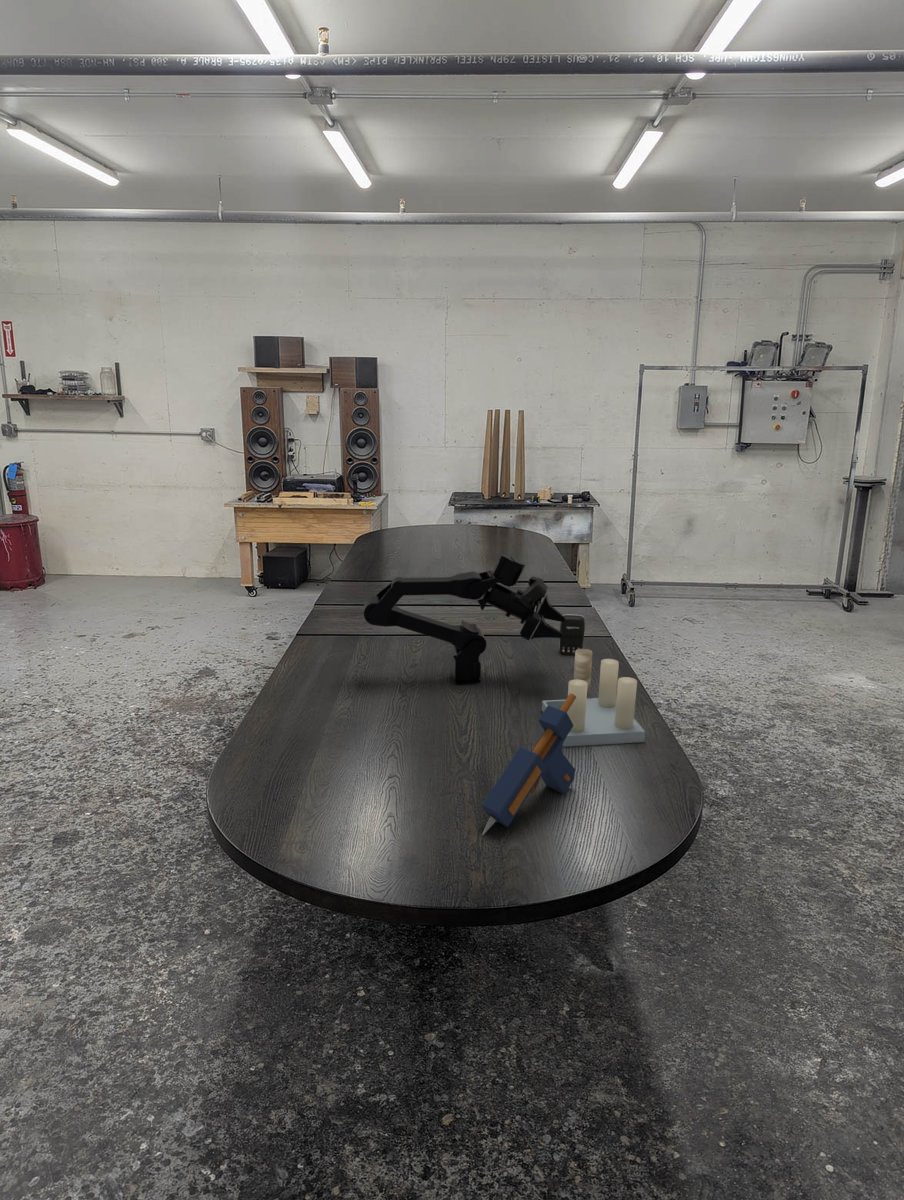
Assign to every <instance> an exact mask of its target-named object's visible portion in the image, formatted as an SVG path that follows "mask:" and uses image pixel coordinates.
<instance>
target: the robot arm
mask: <svg viewBox="0 0 904 1200" xmlns="http://www.w3.org/2000/svg"><path fill="white" fill-rule="evenodd" d="M525 567H526V563H524V561H521V560H519V559H517V558H515V557H513V556H510V555H509V556H508V555H505V554H502V553H500V554H499V557H498V559H497V562H496V564H495V565H494V568H493V570H488V571H487V570H486V571H482V572H476V571H467V572H462V573H461V572H460V573H458V574H457V573H456V574H455V575H451V576H447V577H440V576H439V577H401V576H396V577H395V578H394V579H393V580H392V581H390V583H389V584H387V585H386V586H385V587H384V588H382V589H381V590H380V591H379V592H378V593H377V594H376V595H372V596H369V597H368V598H367V599H366V600H365V602H364V604H363V617H364V620H365V621H366V623H368V624H369V625H370V626H371V625H372V626H376V627H378V626H379V627H385V628H386V627H398V628H402V629H405V630H409V631H411V632H415V633H417V634H421V635H425V636H428V637H431V638H434V639H437V640H441V641H444V642H446V643H449V644H451V645H452V646H453V649H454V652H455V655H452V673H450V677H451V678H452V680H453V682H454V683H455V684H456V685H466V684H467V685H468V684H480V683H481V679H480V678H481V677H482V675H481V674H482V673H481V672H482V670H481V669H482V668H481V667H482V663H481V662H480V656H481V655H482V654H483V653H484V652H485V651H486V648H487V640H486V637H485V636H484V633H483V631H482V629H481V628H480V627H478V626H477V624H476V623H469V622H466V621H465V620H461V622H460V624H458V625H455V624H454V625H453V624H449V623H445V622H443V621H440V620H436V619H433V618H430V617H427V616H424V615H420V614H417V613H415V612H411V611H407V610H404V609H402V608H400V607H399V606H397V603H398V602H399V600H400V599H401V598H403V596H442V595H443V596H444V595H445V596H447V595H449V596H454V597H457V598H461V599H467V600H473V601H474V600H475V601H476V600H477V602H478V604H479V606H480V610H481V611H483V610H485V607H486V605H489V606H492V607H493V608H496V609H498V610H500V611H503V613H505V617H508V618H510V616H513V617H515V618H516V619H519V620H520V622H519V623H520V624H521V626H520V627H521V628H520V631H519V634H520V636H521V638H522V639H525V640H526V641H530V640H534V639H540V638H541V639H544V638H545V639H546V638H548V639H560V638H562V636H563V633H561V632H560V630H558V629H557V628H555V627H553V626H552V625H550V624H549V623H548V622H546V621H545V620H549V621H550V620H551V621H556V622H560V621H561V622H564V621H565V617H564V616H563V615H564V614H561V613H560V612H559V611H558V610H557V609H556V608H555V607H554V606H553V605H552V604H551V603H550V601H549V597H548V594H547V592H548V591H547V589H548V585H546V583H544V579H543V578H540V577H537V576H533V575H532V576H531V577H530V578H529V579H528V580H527V584H528V586H527V587H526V589H525V590H521V589H517V590H516V591H514V590H512V589H510V588H511V587H514V586H515V585H517V583H518V581H519V579H520V577H521V575H522V574H523V571H524V569H525ZM503 585H504V586H503Z"/></svg>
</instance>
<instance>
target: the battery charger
mask: <svg viewBox="0 0 904 1200" xmlns="http://www.w3.org/2000/svg"><path fill="white" fill-rule="evenodd" d="M562 615H563V616H564V617H565V621H564V622H561V621H559V631H560V632H561V633H563V636H562V638H559V644H558V645H559V647H558V652H559V654H562V655H566V656H575V651H576V650H577V649H584V639H585V632H586V630H585V629H586V621H585V619H586V618H585V616H584V615H582V614H574V613H573V614H571V613H568V614H566V613H565V614H562Z"/></svg>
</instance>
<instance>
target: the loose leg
mask: <svg viewBox="0 0 904 1200" xmlns="http://www.w3.org/2000/svg"><path fill="white" fill-rule="evenodd" d="M592 662H593V650H591V649H587V648H583V649H577V650H576V651H575V655H574V665H573V666H574V667H573V668H574V669H573V670H574V671H573V680H574V679H579V680H584V681H586V682H587V683H588V687H587V698H590V692H591V679H592V664H593V663H592Z"/></svg>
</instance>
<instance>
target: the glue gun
mask: <svg viewBox="0 0 904 1200" xmlns="http://www.w3.org/2000/svg"><path fill="white" fill-rule="evenodd" d="M575 699H576V696H575V695H574V694H571V693H570V694H569V696H568V695H567V697H566V698H565V700H566V701H565V702H564V704H563V705H562V707H561V708H560V709H557V708H555V707H552V706H549V705H548V706H547V708H546V709H545V711H544V712H542V714H541V715H540V716H539V718H538V722H539V724H540V726H541V727H542V729H543V733H542V734H541V736H540V738H539V739H538V741H537V742H536V744H535V745H534V747H533V748H532V750H529V749H528V748H525V747H523V746H519V748H518V749H517V751H516V752H515V754H514V756H512V758H511V760H510V762H509V763H508V765H507V766H506V768H505V769H504V771H503V772H502V774H501V775H500V777H498V779H497V782H496V783H495V784H494V785H493V787H492V789H491V791H489V792H488V794H487V796H486V798H485V799H484V801H483V802H482V804H481V807H482V809H483V810H484V811H485V813H486V814H487V815H488V820H487V822H486V825H485V827H484V829H483V832H482V834H481V836H484V835H485V834H486V833H487V832H488V830H490V828H492V826H493V825H494V824H495V823H499V824H501V825H503V826H505V827H506V828H509V826H510V825H511V824H512V822H513V820H514V818H515V817H516V815H517V814H518V812H519V811H520V809H521V808H522V806H523V804H524V803H525V802H526V799H527V798H528V797H529V795H530V794H533V795H534V794H535V793H536V792H535V791H536V790H537V788H538V786H539V784H540V780H541V779H542V781H543V782H544V784H545V786H546V787H547V788H550V789H552V790H554V791H556V792H558V793H561V794H563V795H565V794H566V793H567V792H568V790H569V788H570V786H571V785H572V783H573V782H574V781H575V775H576V774H575V773H576V768H575V767H574V766H573V764H571V762H570V761H569V760H568V759H567V757H566V756H565V755H564V753H563V742H564V740H565V739H566V737H567V735H568V734H569V732H570V731H571V729H572V727H573V726H574V725H573V723H572V721H571V719H570V718H569V716H568V714H567V711H568V710H569V708H570V707H571V705H572V703H573V702H574V700H575Z"/></svg>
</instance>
